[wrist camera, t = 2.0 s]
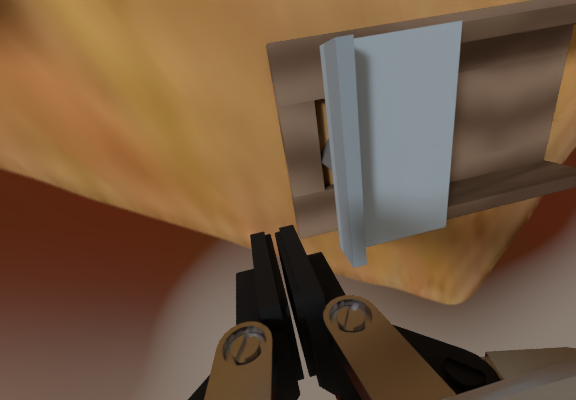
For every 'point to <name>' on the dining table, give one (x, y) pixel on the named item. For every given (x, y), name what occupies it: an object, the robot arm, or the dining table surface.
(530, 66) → the game box
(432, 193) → the sliding lid
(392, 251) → the dining table surface
